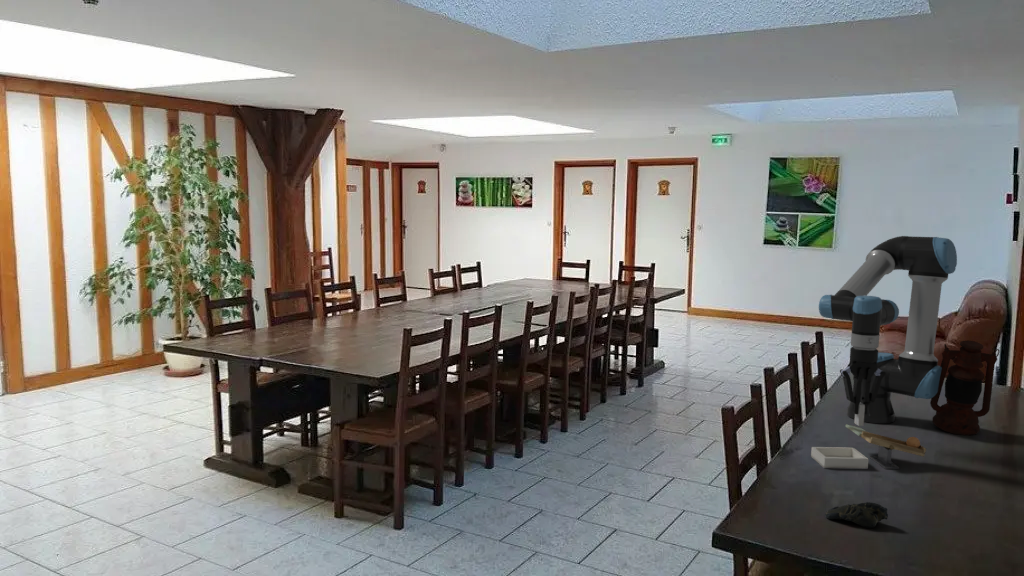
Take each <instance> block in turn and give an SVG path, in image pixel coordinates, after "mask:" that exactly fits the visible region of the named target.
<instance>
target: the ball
mask: <svg viewBox="0 0 1024 576" xmlns="http://www.w3.org/2000/svg"><path fill="white" fill-rule="evenodd" d="M905 442H906V444H907V446H910V447H914V448H918V447H919V446H920V445H921V441H920V439H919V438H918V437H916V436H911V437H908V438H907V439H906V441H905Z"/></svg>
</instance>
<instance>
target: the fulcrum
mask: <svg viewBox="0 0 1024 576" xmlns="http://www.w3.org/2000/svg"><path fill="white" fill-rule="evenodd" d="M892 453H893V451H892V449H890V448H887V447H883V446H879V445H878V455H869V458H870V459H871V460H872V461H874V462H875V463H877V464H878V465H879V466H880V467H881V468H883V469H885V470H900V466H898V465H897V464H896V463H894V462H893V461H892Z"/></svg>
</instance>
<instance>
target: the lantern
mask: <svg viewBox="0 0 1024 576" xmlns="http://www.w3.org/2000/svg"><path fill="white" fill-rule="evenodd" d="M959 345H960V347H959V350H957V349H956V350H952V349H949V347H947V344H946V343H944V344H943V346H944V349H943V351H942V353H941V357H942V360H941V364H940V365H939V366H940V367H941V368H942V370H941V375H940V381H939V386H938V392H937V394H936V395H935V396H934V397H933V398H931V399H930V403H929V404H930V407H931V409H932V410H933V411H935V412H936V413H935V415H933V416H932V423H933V424H934V426H935V427H937V428H939V430H941V431H944V432H947V433H950V434H952V435H957V436H958V435H959V436H974V435H977V434H978V433H980V430H981V426H980V425H979V422H980V421H979V418H982V417H984V416H986V415H988V413H989V411H990V409H991V400H992V393H993V392H992V391H993V383H994V374H995V365H996V362H997V361H998V356H999V355H1000V349H998V348H996V349H995V350H994V351H993V352H992V353H986V352H982V350H983V349H984V344H982V343H980V342H979V341H975V340H961V341H960V342H959ZM950 360H952V362H953V365H951V366H950V365H949V364H950ZM983 362H985V363H986V370H985V373H984V372H983V371H982V370H981V369H982V368H983V367H984V364H983ZM947 373H948V374H947ZM946 375H947V377H946ZM945 378H946V379H945ZM983 380H984V389H983ZM943 385H944V397H945V398H946V399H945V400H946V403H944V404H941V406H940V405H939V404H938V403H939V400H940V396H941V393H942V389H943ZM982 391H983V396H982V405H981V406H982V407H981V409H980V410H974V409H973V408H974V407H975V405H976V404H977V403H978V400H979V398H980V395H981V393H982Z"/></svg>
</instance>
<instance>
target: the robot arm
mask: <svg viewBox="0 0 1024 576" xmlns="http://www.w3.org/2000/svg"><path fill="white" fill-rule="evenodd" d="M957 265H958V256H957V248H956V246H955V244H954V242H953V241H952V240H951V239H949V238H947V237H939V236H908V235H901V236H895V237H891V238H890V239H889V238H888V239H887V240H885V241H882V242H881V243H880V244H877V245H876V246H875V247H873V249H871V250H870V251H869V252H868V253H867V254H866V257H865V262H863V263H862V265H861V266H860V267H859V268H858V269H857V270H856V271H855V272H854V273H853V274H852V275H851V277H850V278H849V279H848V280H847V281H846V282H845V283H844V284H843V285H842V287H840V288H839V290H837V292H836V293H835V294H824V295H822V296H821V297H820V299H819V301H818V302H819V303H818V312H819V314H820V316H821V317H822V318H825V319H826V318H827V319H831V320H839V321H847V322H852V323H851V326H852V327H851V334H850V337H851V338H850V346H851V347H850V349H849V363H848V364H847V367H846V368H844V369H842V368H841V369H840V370H839V373H840V375H841V376H842V380H843V386H844V392H845V397H846V400H848V401H849V403H848V407H847V409H846V415H847V416H848V417H849V418H851V419H853V420H854V424H855V425H857V427H864V423H870V424H890V423H893V422H894V421H895V416H896V414H895V411H894V407H893V403H892V399H891V394H897V395H901V396H908V397H913V398H915V399H925V400H931V398H933V397H934V396H935V395H936V394H937V392H938V386H939V381H940V375H941V370H942V368H941V367H940V366H941V365H938V364H939V359H938V358H937V357H936V356H935V353H934V352H935V345H936V344H935V343H936V335H937V329H938V328H937V327H938V318H939V310H940V302H941V301H940V300H941V293H942V286H943V283H944V282H946V281H947V280H948V279H949V275H951V274H953V273H954V272H955V271H956V268H957ZM899 270H902V271H908V272H907V273H908V274H907V276H908V278H909V279H911V281H912V282H911V293H910V302H909V310H908V316H907V317H908V319H907V327H906V335H905V344H904V351H903V352H900V354H898V359H896V358H895V356H894V354H893V353H889V352H879V350H878V348H879V347H880V346H879V344H880V334H881V333H880V332H881V326H885V325H889V324H891V323H893V322H895V321H896V320H897V319H898V317H899V315H900V309H899V307H898V305H897V303H895V302H894V301H893V300H891V299H882V298H881V297H879V296H876V295H869V294H870V293H871V292H872V290H873V289H874V288H875V287H876V286H877V285H878V283H879V282H881V280H882V279H883V277H885V276H887V275H889V274H890V273H891V274H892V272H893V271H899ZM851 374H852V378H853V379H851V377H850V376H851ZM852 380H853V386H852Z"/></svg>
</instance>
